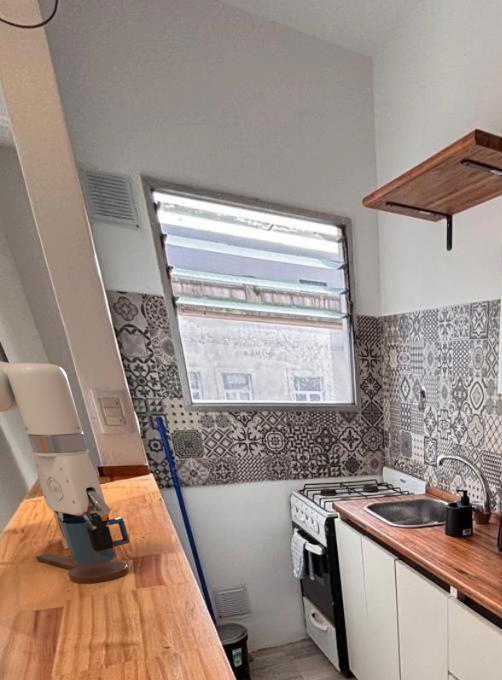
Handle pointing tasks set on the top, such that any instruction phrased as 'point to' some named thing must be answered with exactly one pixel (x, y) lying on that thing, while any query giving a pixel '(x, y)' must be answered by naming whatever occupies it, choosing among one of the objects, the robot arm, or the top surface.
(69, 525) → the blue mug
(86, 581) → the spoon
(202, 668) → the top surface
